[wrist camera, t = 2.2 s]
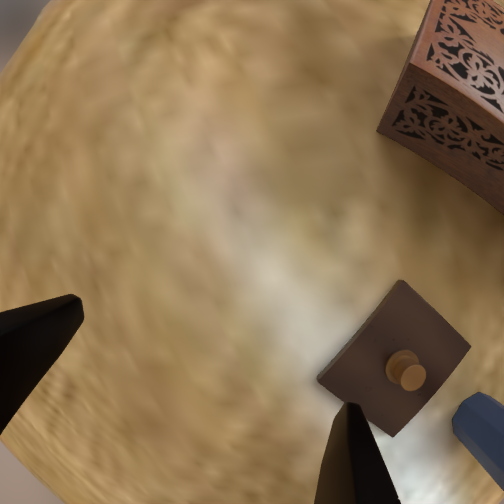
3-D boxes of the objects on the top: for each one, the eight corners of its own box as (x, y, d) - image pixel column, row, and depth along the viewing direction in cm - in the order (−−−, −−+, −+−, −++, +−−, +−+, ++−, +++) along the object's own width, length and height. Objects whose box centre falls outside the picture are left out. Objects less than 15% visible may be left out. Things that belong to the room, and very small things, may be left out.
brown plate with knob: (389, 431, 22) (401, 455, 17) (316, 376, 23) (319, 396, 19) (465, 343, 21) (489, 354, 17) (398, 279, 22) (417, 281, 18)
